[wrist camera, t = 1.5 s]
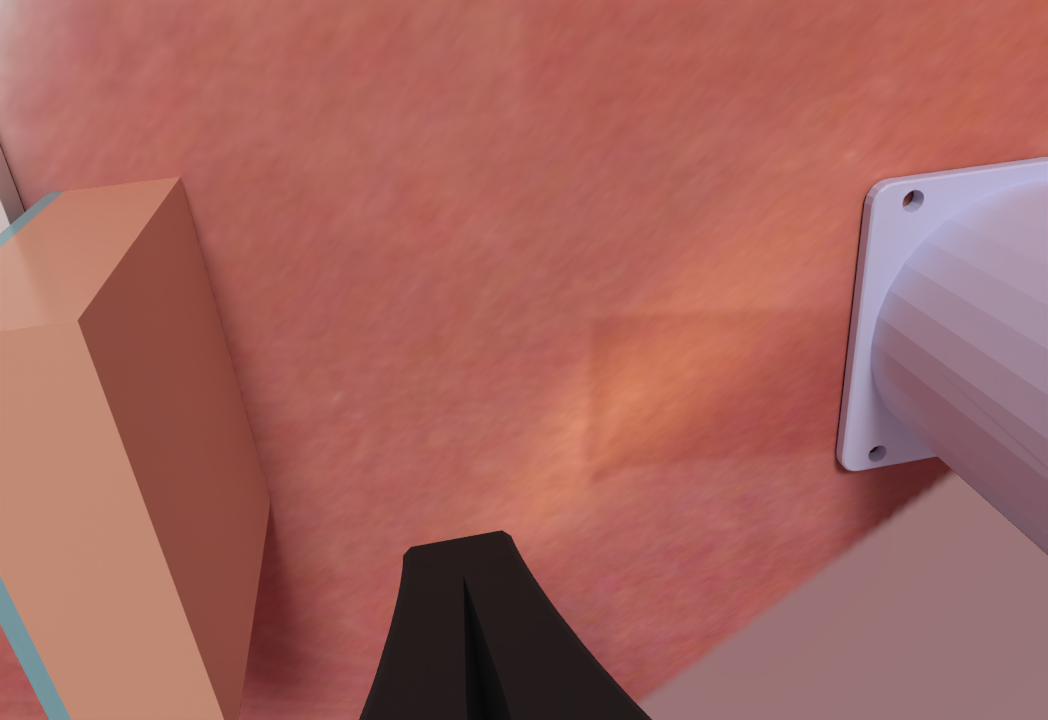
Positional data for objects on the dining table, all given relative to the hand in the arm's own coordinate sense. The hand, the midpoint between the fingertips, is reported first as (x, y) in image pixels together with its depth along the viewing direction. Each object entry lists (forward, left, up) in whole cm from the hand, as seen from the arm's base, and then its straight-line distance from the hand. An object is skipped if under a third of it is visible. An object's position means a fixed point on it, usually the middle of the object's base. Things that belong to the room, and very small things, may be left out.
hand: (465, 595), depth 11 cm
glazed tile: (+5, 0, -9) cm, 10 cm away
